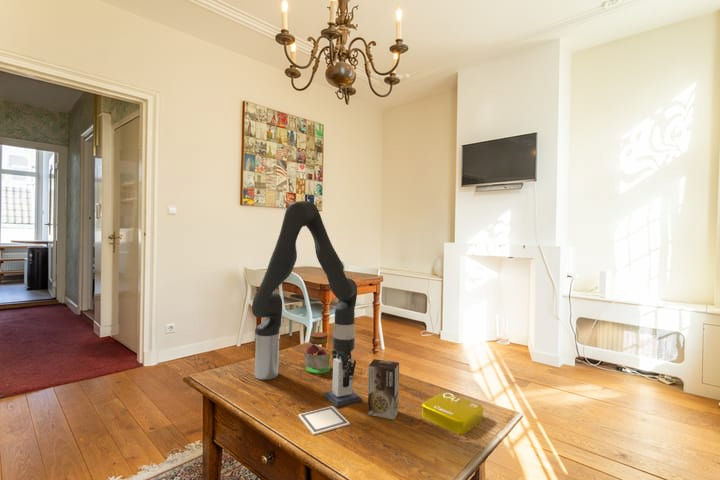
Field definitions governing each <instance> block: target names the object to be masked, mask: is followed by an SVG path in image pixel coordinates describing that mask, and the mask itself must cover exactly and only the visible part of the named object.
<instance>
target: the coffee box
mask: <svg viewBox="0 0 720 480" xmlns="http://www.w3.org/2000/svg"><path fill="white" fill-rule="evenodd" d="M367 370H368V376H367V377H368V378H367V379H368V383H367V386H368V387H367V388H368V389H367V415H368V416H371V417H372V416H373V417H377V418H378V417H379V418H384V419H389V420H395V419H396V418H397V416H398V414H399V401H400V400H399V399H400V398H399V397H400V396H399V395H400V394H399V393H400V362H398V361H390V360H381V359H377V358H376V359H372V361H371V362H370V363H369V364H368V367H367Z"/></svg>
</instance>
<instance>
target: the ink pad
mask: <svg viewBox="0 0 720 480" xmlns="http://www.w3.org/2000/svg"><path fill="white" fill-rule="evenodd" d="M323 396H324V398H326V399H327V400H328V402H330V403H331V404H332V406H333V407H334V408H335V409H338V408H340V407H344V406H349V405H352V404H357V403H361V402H363V398H362V397H361V396H359V394H357V393H356V392H355V391H354V390H352V394H349V395H345V396H340V397H337V396H336V395H334V394H333V393H332V390H329V391H326V392H323Z"/></svg>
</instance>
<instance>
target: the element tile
mask: <svg viewBox="0 0 720 480" xmlns="http://www.w3.org/2000/svg"><path fill="white" fill-rule="evenodd" d="M483 414H484V406H482V405H481V404H478V403H477V402H474V401H472V400H469V399H466V398H464V397H461V396H458V395H456V394H453V393H451V392H449V391H443V392H440V393H439V394H437V395H435V396H433V397H431V398H429V399H427V400H426V401H423V402H422V404H421V417H422V419H424V420H426V421H429V422H431V423H433V424H434V425H437V426H439V427H442V428H444V429H446V430H447V431H450V432H452V433H454V434H458V435H465V434H467V433H468V432H469V431H470V430H471V428H472V429H473V428H474V427H476V426H477V425H478V424H479V423H481V422H482V421H483V420H484V417H483V416H484V415H483ZM482 419H483V420H482ZM480 421H481V422H480ZM476 424H477V425H476Z"/></svg>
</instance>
